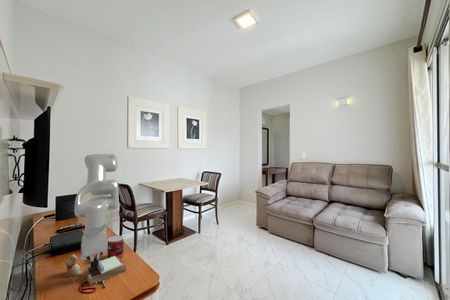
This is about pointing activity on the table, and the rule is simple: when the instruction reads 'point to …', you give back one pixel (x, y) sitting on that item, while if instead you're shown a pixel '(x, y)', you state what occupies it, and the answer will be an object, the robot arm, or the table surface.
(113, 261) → the lid
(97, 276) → the compartment box
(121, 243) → the canned food
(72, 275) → the chocolate bunny
